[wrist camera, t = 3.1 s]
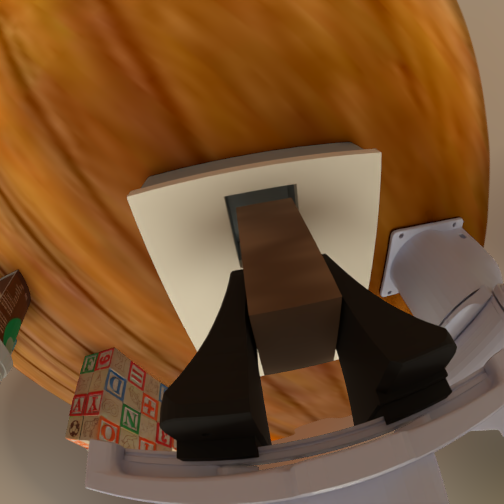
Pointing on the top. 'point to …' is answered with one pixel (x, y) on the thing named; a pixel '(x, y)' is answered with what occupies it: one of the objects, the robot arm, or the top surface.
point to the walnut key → (287, 288)
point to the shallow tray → (257, 195)
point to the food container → (11, 315)
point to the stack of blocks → (117, 405)
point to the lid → (221, 234)
